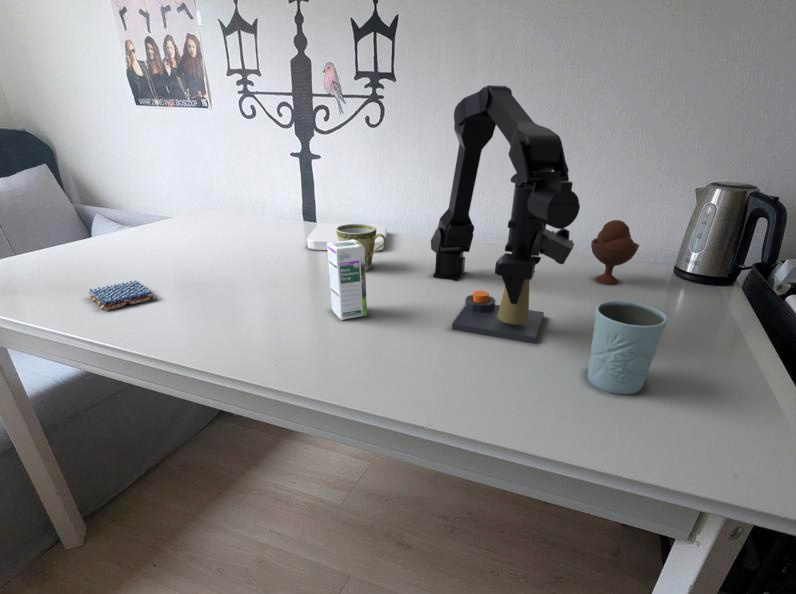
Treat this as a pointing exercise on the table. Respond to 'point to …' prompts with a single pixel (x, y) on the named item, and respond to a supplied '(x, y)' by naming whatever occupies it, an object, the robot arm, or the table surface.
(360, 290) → the syrup box
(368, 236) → the ceramic cup
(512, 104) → the robot arm
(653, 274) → the table surface
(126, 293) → the woven mat
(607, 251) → the ice cream bowl
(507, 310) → the cork
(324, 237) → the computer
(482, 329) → the dark grey base plate
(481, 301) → the button
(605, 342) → the light blue embossed pot
